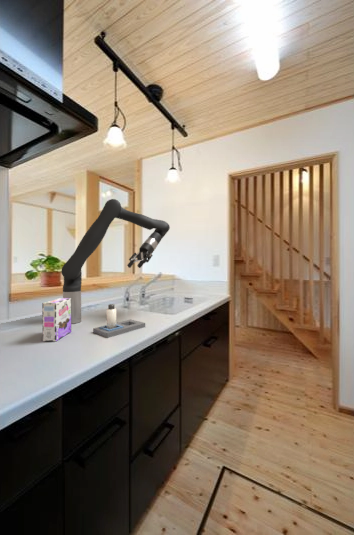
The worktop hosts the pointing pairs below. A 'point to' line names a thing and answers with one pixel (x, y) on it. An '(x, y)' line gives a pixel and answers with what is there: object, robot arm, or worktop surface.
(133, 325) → the grey socket board
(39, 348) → the worktop surface
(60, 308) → the candy box
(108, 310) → the cream upright block
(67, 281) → the robot arm
